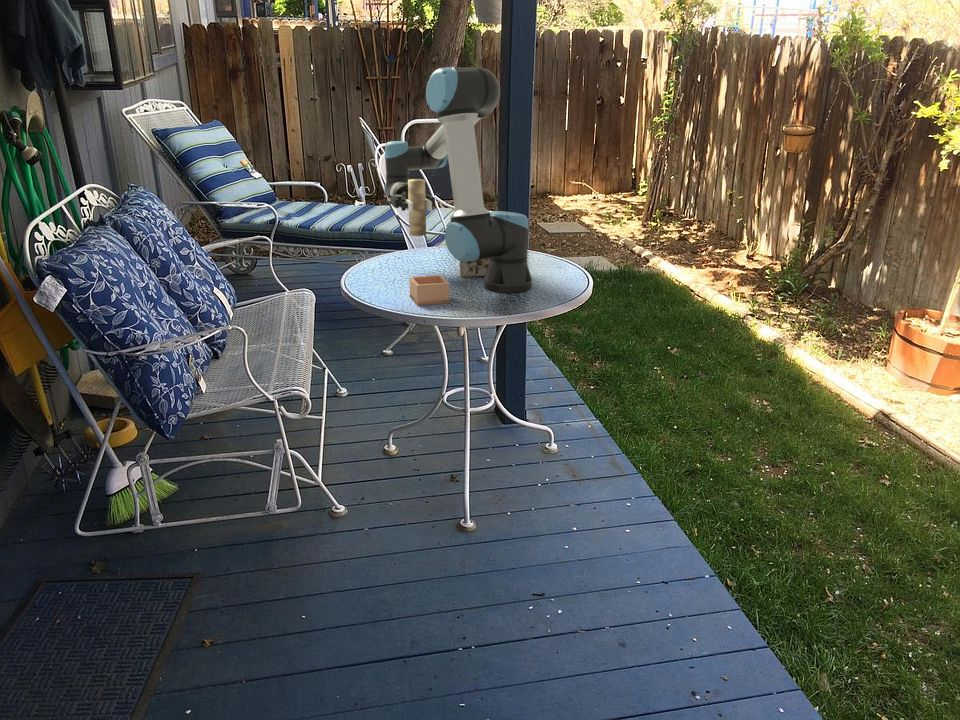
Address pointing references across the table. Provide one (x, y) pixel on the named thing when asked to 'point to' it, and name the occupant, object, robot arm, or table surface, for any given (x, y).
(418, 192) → the peg
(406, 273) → the table surface
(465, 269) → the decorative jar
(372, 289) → the table surface
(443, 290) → the box
